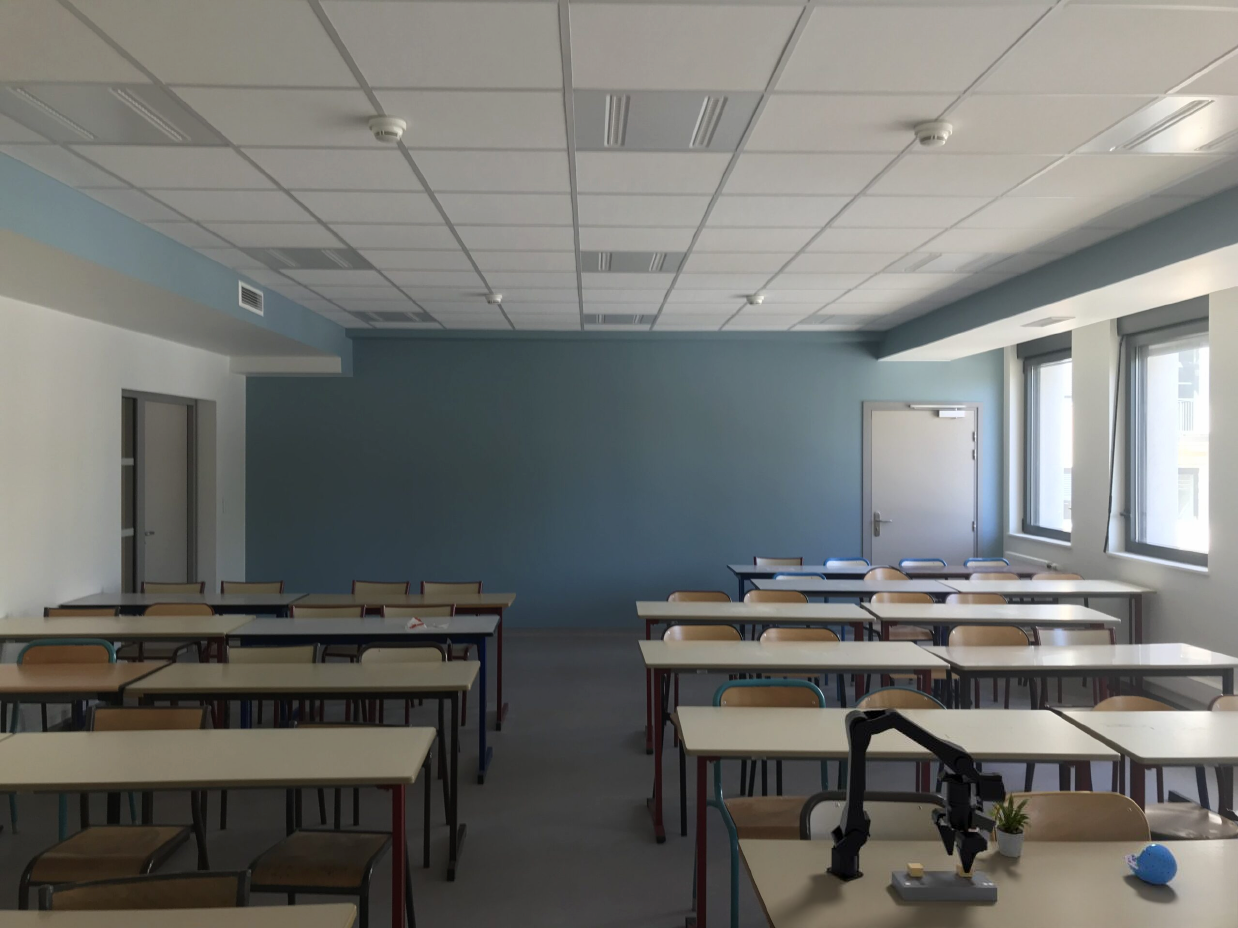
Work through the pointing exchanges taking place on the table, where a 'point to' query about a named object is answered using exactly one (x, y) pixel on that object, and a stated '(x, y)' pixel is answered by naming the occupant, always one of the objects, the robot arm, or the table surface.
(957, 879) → the grey slider switch box
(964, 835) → the robot arm
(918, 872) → the outlet switch
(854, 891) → the table surface
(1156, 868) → the cell model
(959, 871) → the outlet switch
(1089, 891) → the table surface
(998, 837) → the house plant
